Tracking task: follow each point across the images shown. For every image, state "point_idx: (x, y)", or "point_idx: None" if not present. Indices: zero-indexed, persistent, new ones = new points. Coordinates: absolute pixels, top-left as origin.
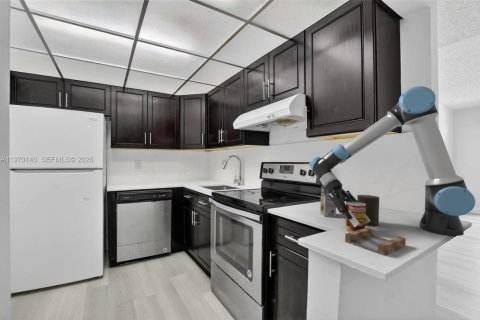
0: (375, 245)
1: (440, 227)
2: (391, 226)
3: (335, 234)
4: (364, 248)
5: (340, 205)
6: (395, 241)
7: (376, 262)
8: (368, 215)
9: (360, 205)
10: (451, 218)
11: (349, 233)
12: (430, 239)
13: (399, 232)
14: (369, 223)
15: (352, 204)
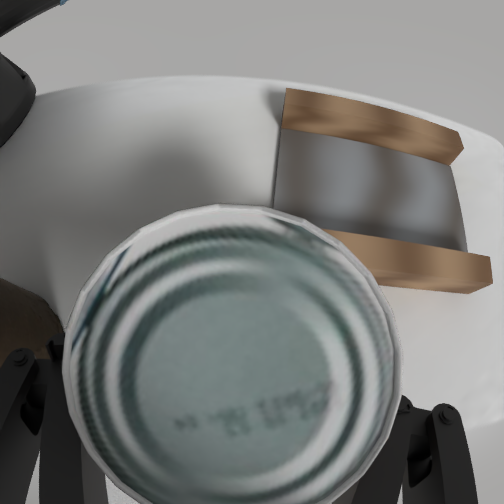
0: (408, 182)
1: (21, 89)
2: (5, 237)
3: (427, 387)
4: (457, 208)
5: (468, 462)
6: (375, 107)
7: (490, 160)
8: (19, 323)
9: (334, 238)
10: (4, 56)
11: (474, 274)
12: (110, 93)
13: (81, 178)
14: (52, 325)
15: (350, 382)
